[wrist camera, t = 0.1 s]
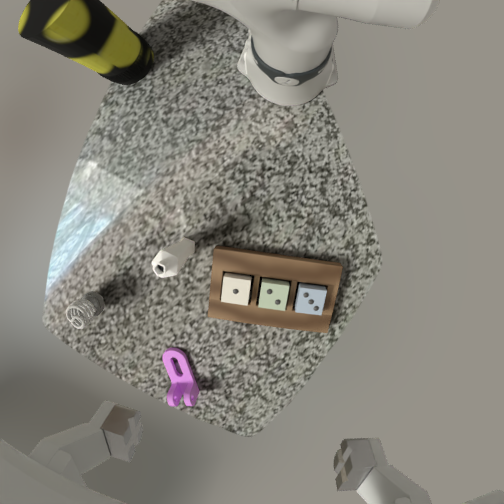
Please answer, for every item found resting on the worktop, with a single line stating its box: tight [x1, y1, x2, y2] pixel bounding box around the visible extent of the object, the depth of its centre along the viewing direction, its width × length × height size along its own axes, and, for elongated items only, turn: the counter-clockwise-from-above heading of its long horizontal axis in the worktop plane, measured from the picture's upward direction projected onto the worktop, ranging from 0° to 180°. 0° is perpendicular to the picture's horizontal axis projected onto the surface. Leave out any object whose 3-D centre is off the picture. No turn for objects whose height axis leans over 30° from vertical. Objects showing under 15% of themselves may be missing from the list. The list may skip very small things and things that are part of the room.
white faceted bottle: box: [152, 237, 195, 278], centre depth 51 cm, size 5×4×15 cm
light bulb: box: [66, 292, 104, 329], centre depth 57 cm, size 6×6×12 cm
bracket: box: [163, 348, 199, 406], centre depth 62 cm, size 13×6×7 cm, turn 12°
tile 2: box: [258, 278, 289, 311], centre depth 56 cm, size 5×5×3 cm
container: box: [18, 0, 154, 85], centre depth 35 cm, size 11×11×30 cm
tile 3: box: [295, 283, 327, 315], centre depth 56 cm, size 5×5×3 cm
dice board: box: [208, 245, 343, 333], centre depth 58 cm, size 14×24×2 cm, turn 83°
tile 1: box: [221, 273, 252, 306], centre depth 56 cm, size 5×5×3 cm
